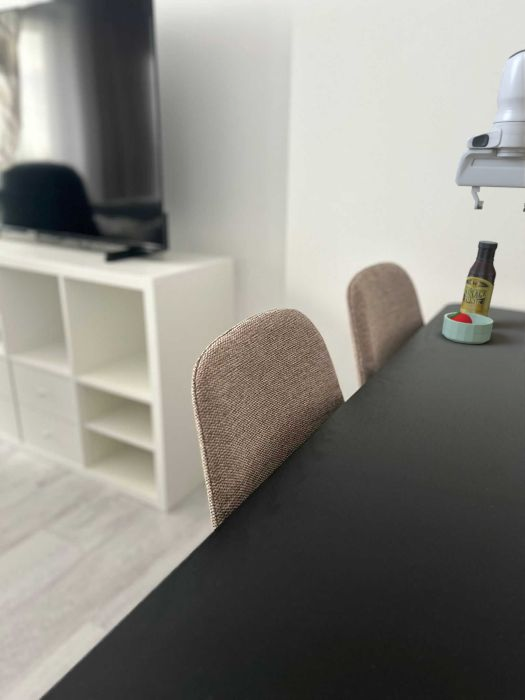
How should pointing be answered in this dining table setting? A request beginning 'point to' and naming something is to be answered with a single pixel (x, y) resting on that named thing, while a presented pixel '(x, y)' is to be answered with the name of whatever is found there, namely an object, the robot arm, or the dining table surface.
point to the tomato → (461, 318)
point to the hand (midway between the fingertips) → (502, 210)
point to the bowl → (468, 329)
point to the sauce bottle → (480, 281)
